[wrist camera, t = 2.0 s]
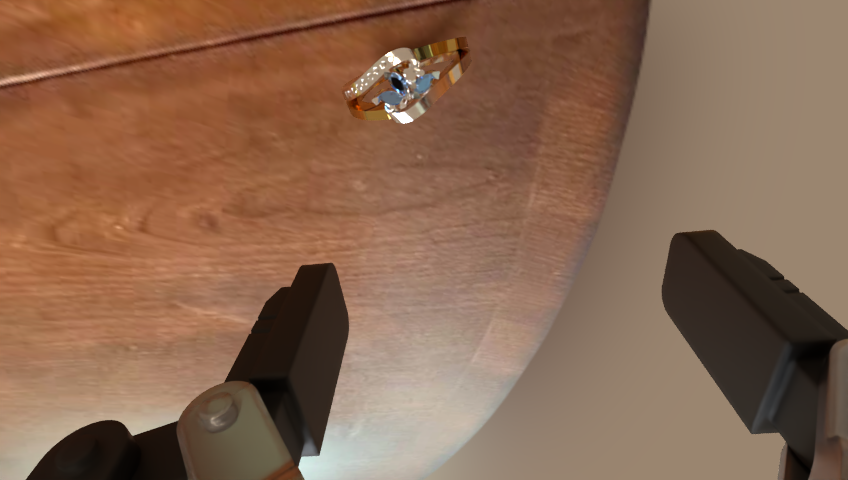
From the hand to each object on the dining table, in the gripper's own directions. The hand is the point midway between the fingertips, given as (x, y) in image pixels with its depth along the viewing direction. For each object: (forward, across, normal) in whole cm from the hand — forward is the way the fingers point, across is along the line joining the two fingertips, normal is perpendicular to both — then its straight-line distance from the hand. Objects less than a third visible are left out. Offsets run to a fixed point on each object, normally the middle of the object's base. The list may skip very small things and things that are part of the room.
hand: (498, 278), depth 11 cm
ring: (+20, +3, -2) cm, 20 cm away
